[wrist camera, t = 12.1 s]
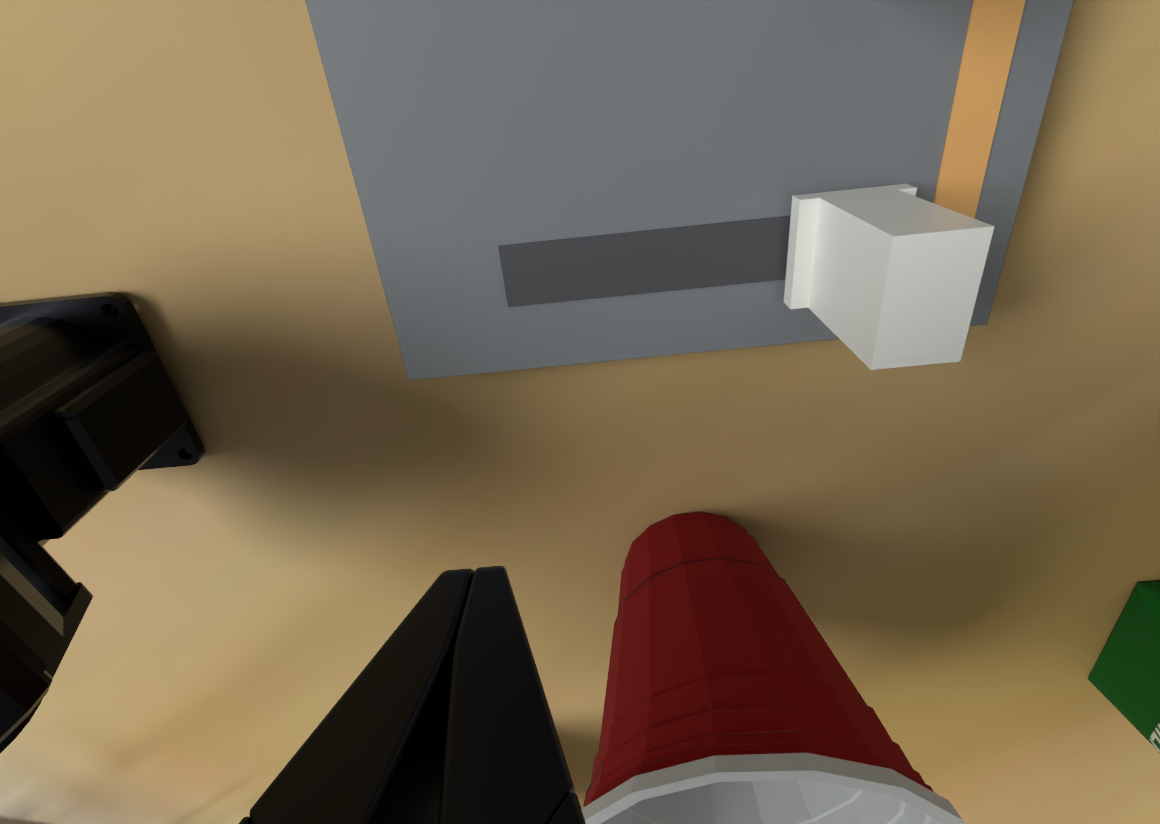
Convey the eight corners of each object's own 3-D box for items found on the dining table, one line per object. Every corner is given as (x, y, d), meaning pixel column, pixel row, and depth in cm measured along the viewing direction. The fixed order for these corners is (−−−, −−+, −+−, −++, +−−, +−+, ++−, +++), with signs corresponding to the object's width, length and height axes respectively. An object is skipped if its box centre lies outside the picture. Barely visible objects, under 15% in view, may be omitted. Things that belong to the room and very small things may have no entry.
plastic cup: (521, 505, 24) (489, 840, 14) (788, 426, 22) (981, 739, 12) (605, 667, 29) (628, 998, 19) (826, 613, 28) (983, 942, 17)
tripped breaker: (783, 301, 17) (848, 372, 13) (792, 195, 16) (868, 238, 12) (887, 291, 17) (983, 359, 13) (905, 183, 16) (1019, 223, 12)
